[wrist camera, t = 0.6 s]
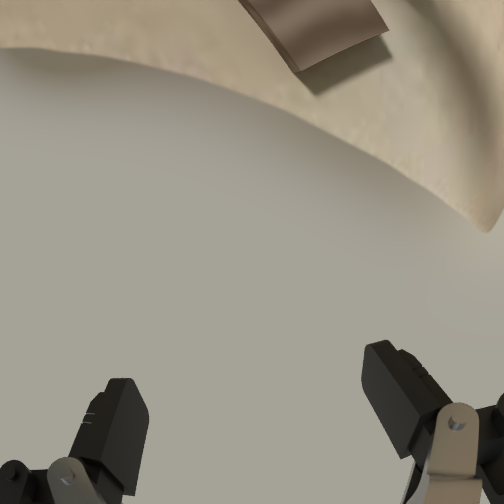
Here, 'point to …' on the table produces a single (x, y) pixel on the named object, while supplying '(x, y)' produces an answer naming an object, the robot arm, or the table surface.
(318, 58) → the walnut base
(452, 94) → the table surface
